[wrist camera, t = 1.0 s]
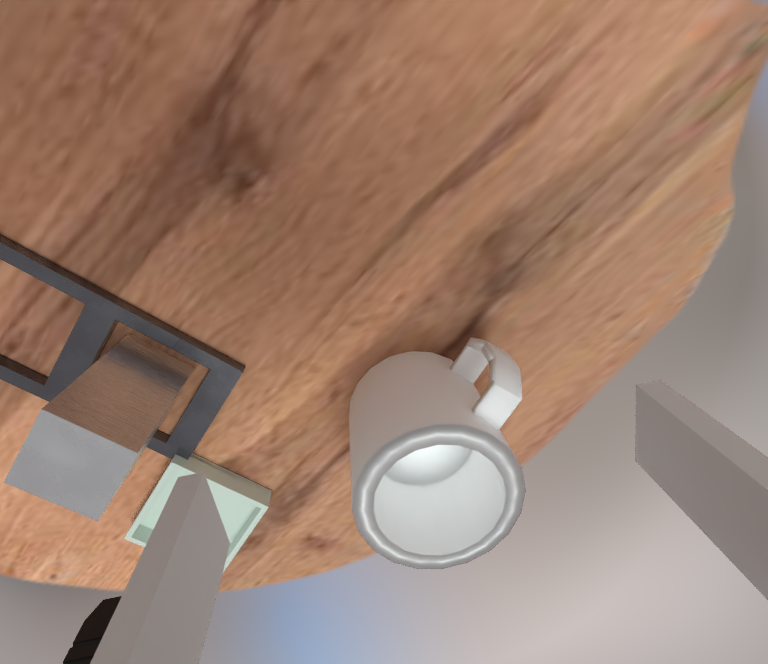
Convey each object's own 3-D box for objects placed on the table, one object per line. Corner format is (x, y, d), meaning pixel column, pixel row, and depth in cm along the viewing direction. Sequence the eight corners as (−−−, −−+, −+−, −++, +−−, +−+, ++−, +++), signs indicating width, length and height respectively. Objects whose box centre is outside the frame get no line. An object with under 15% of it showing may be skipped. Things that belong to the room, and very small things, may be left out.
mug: (418, 288, 36) (448, 342, 26) (529, 354, 38) (596, 426, 28) (324, 434, 39) (319, 530, 29) (432, 486, 42) (461, 591, 32)
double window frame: (-87, 327, 34) (-100, 332, 33) (-40, 213, 32) (-52, 214, 31) (188, 457, 39) (184, 464, 38) (245, 366, 37) (242, 372, 36)
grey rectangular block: (99, 388, 36) (3, 482, 26) (128, 333, 35) (41, 408, 25) (163, 419, 38) (97, 521, 27) (195, 367, 36) (137, 453, 26)
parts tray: (133, 520, 40) (123, 538, 39) (179, 446, 38) (171, 462, 37) (224, 559, 42) (219, 577, 41) (271, 490, 41) (268, 507, 39)
